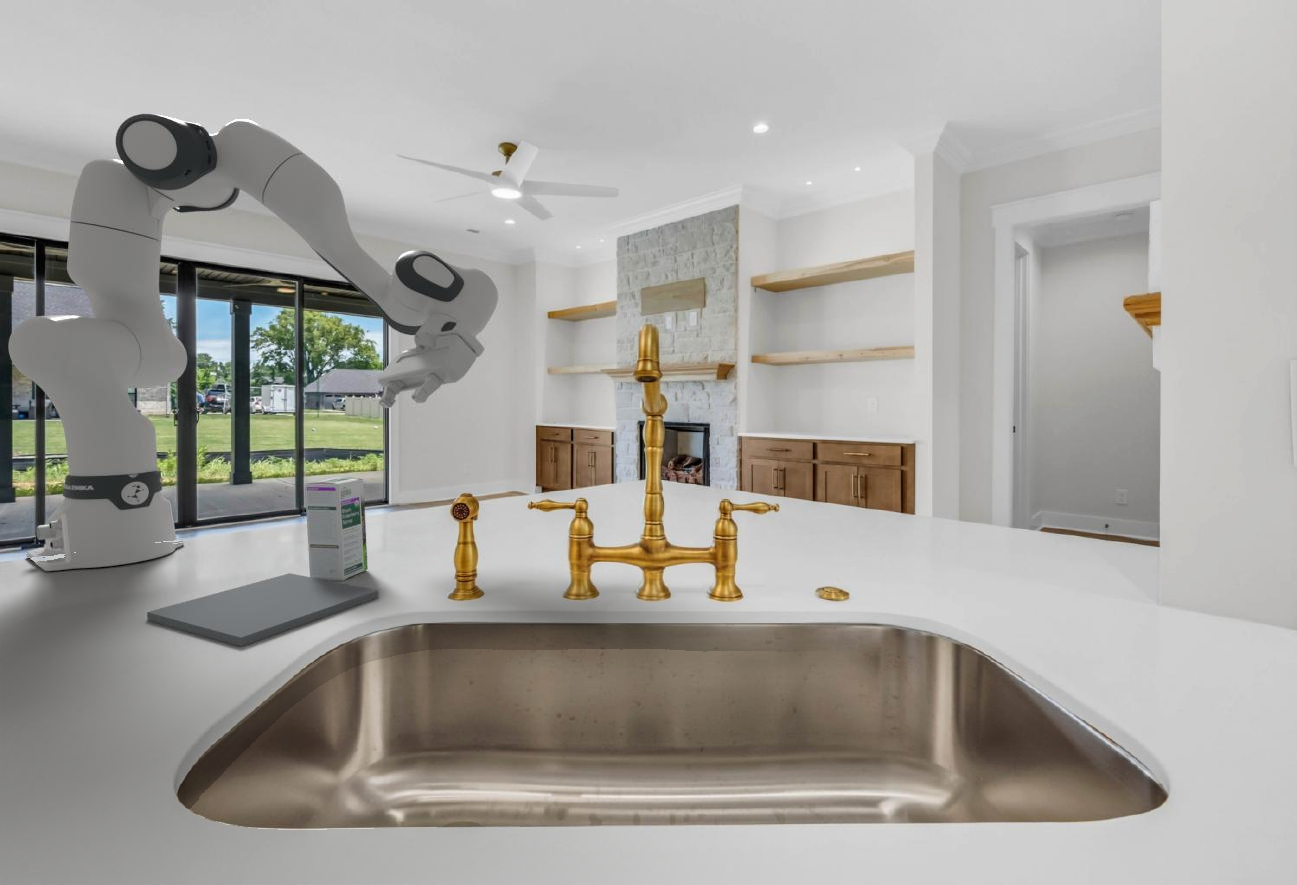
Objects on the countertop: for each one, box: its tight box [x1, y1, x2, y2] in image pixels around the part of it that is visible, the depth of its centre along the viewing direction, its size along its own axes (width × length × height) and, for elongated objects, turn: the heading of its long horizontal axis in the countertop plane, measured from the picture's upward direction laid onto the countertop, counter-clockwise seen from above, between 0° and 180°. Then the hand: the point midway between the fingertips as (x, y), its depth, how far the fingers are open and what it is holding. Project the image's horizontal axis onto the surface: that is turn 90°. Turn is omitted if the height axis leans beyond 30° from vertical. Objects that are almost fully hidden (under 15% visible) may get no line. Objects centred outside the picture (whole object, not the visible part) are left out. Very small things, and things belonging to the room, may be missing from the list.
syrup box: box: [304, 476, 369, 582], centre depth 92 cm, size 6×6×14 cm
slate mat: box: [146, 572, 379, 648], centre depth 78 cm, size 18×18×1 cm
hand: (400, 403), depth 101 cm, fingers open, 8 cm apart
